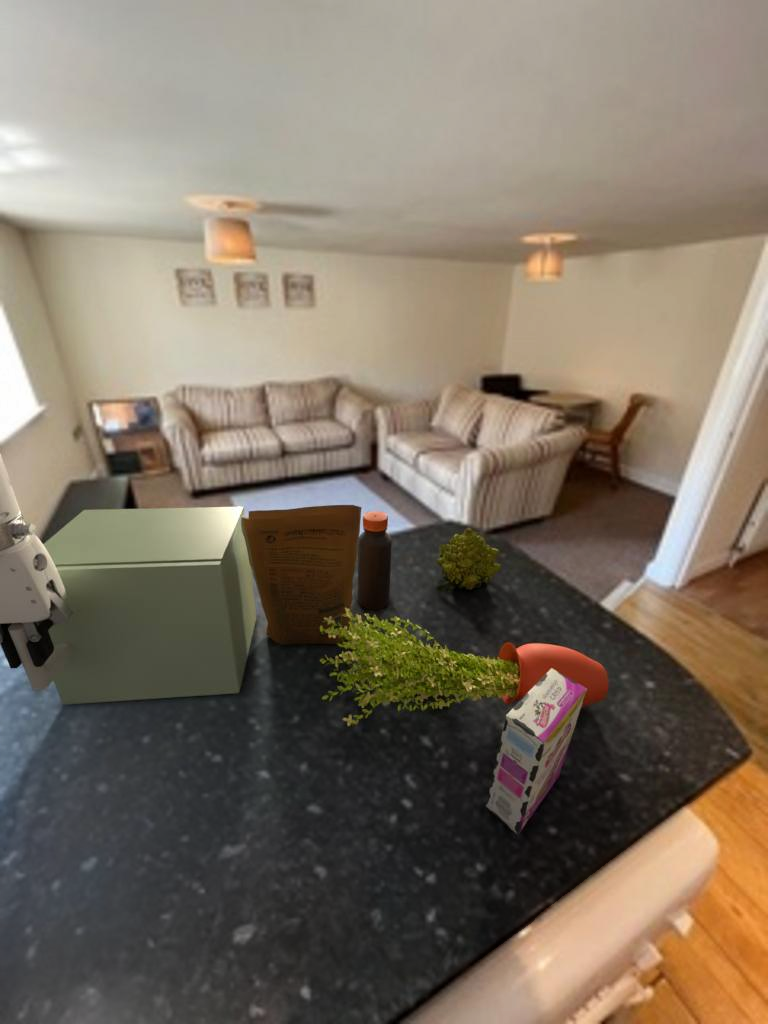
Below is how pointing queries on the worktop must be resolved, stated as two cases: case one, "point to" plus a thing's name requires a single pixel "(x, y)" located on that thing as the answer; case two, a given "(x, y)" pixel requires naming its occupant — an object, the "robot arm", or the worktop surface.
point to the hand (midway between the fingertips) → (33, 659)
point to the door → (138, 634)
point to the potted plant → (449, 668)
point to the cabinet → (168, 551)
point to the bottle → (374, 561)
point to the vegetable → (467, 561)
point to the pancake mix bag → (303, 568)
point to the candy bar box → (534, 748)
